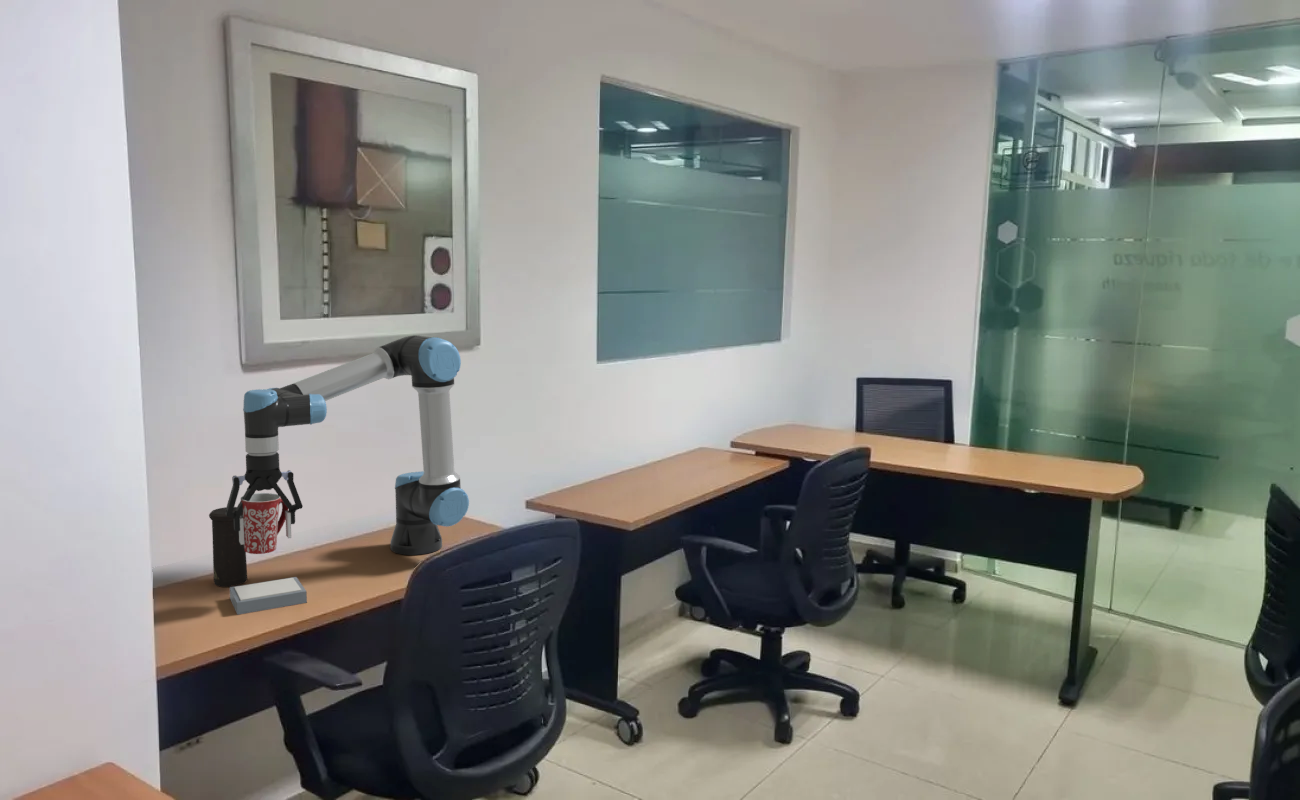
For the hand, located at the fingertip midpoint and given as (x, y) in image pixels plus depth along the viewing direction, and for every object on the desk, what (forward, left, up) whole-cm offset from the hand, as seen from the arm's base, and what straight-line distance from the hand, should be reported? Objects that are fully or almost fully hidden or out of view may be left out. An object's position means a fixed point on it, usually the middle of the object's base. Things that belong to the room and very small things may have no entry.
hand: (265, 539), depth 221 cm
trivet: (0, 0, -16) cm, 16 cm away
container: (+6, -19, -16) cm, 26 cm away
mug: (0, 0, -2) cm, 3 cm away
